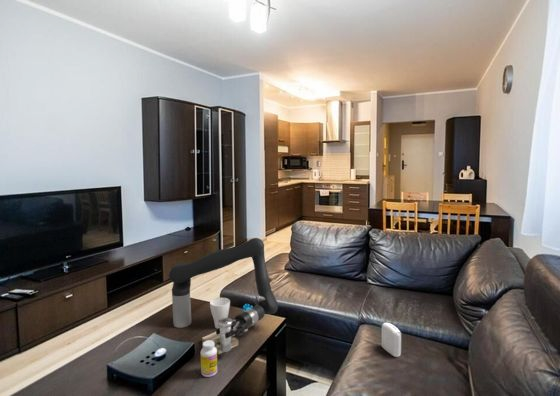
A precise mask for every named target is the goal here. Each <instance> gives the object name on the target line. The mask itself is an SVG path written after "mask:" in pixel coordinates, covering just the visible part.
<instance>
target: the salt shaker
mask: <svg viewBox="0 0 560 396" xmlns="http://www.w3.org/2000/svg"><path fill="white" fill-rule="evenodd" d="M232 320H233V319H232V318H230V317H228V318H222V319H220V320H219V321H218V325H219V327H220V342H219V345H220V350H221V351H222V352H223V353H227V352H230V351H231V350H232V348H231V337H229V338H225V333H227V332H229V331H230V330H231V325H232Z"/></svg>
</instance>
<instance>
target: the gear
mask: <svg viewBox="0 0 560 396" xmlns="http://www.w3.org/2000/svg"><path fill="white" fill-rule="evenodd" d="M252 307H254V306H253V305H250V304H249V303H244V305H243V306H242V312H244V311H246V310H248V309H250V308H252Z"/></svg>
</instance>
